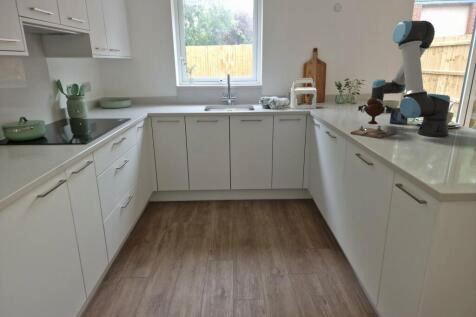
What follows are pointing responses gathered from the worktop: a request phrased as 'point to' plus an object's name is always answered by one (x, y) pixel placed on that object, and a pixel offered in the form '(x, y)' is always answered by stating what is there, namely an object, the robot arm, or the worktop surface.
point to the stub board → (372, 132)
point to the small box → (397, 117)
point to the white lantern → (303, 90)
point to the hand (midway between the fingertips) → (373, 111)
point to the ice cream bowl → (374, 109)
